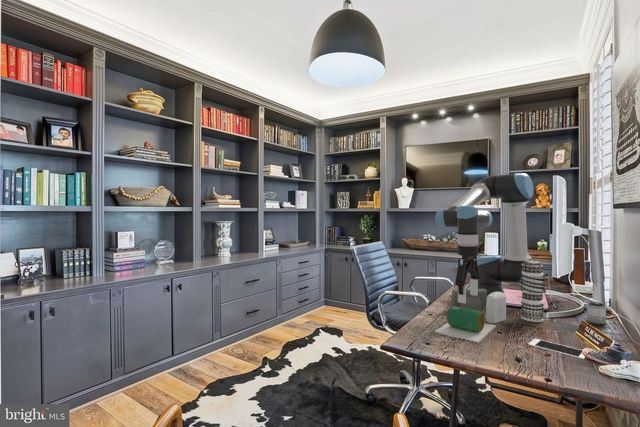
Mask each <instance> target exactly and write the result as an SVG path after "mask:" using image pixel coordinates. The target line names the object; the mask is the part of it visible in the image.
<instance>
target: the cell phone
mask: <svg viewBox="0 0 640 427" xmlns="http://www.w3.org/2000/svg"><path fill="white" fill-rule="evenodd" d="M527 345H528V346H532V347H536V348H539V349H543V350H547V351H550V352H554V353H557V354H561V355H566V356H570V357H573V358H577V359H581V360H585V358H586V357H585V356H584V355H583V354H582V350H583V349H578V348H576V347H572V346H568V345H564V344H560V343H555V342H550V341H547V340H542V339H538V338H533V339H532V340H531V341H530V342H528V343H527Z"/></svg>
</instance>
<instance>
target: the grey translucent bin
mask: <svg viewBox="0 0 640 427" xmlns="http://www.w3.org/2000/svg"><path fill="white" fill-rule="evenodd" d="M486 295H487V290H486V289H478V296H475V295H470V288H466V303H459V302H458V288H455V289H453V290H452V292H451V297H450V298H451V299H450V306H449V308H450V307H453V306H455V307H461V308H466V309H471V310H477V311H480V312H481V313H482V312H483V310H484V308H485V306H486V303H485V300H486Z"/></svg>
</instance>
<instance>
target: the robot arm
mask: <svg viewBox="0 0 640 427" xmlns="http://www.w3.org/2000/svg"><path fill="white" fill-rule="evenodd" d="M533 196H534V184H533V181H532V178H531V176H529V174H527V173H522V172H521V173H517V172H516V173H507V174H506V173H505V174H495V175H494V174H493V175H490V176H487V177H485V178H483V179H480V180H479V181H476V182H475V183H474V184H473V185H472V186H471V187H470V190H468V192H466V194H463V196H461V198H459V199H458V200H457V201H456V202H454V203H453V204H452V205H450V207H449V208H447V209H440V210H437V211H436V212H435V215H434V220H435V224H436V225H437V226H438V227H444V228H457V233H456V234H457V235H456V237H455V238H456V239H457V248H456V249H457V253H456V254H458V256H461V258H459V259H457V260H458V264H457V271H456V276H455V283H454V285H455V286H457V289H458V302H459V303H466V289H467V287H466V285H465V284H466V280H467V276H468V274H469V275H470V279H469V289H470V295H475V296H478V289H486V290H487V295H486V298H487V296H488V295H489V294H491V293H493V292H502V293H504V294H505V295H506V293H505V291H504V288H503V283H506V284H514V285H519V286H521V285H522V284H521V282H520V281H521V279H520V278H521V277H522V276H521V275H520V274H522V264H523V263H524V262H525V261H533V260H532V256H531V255H529V253H528V236H527V235H528V234H527V233H528V230H527V214H526V209H527V208H526V206H527V204H528V203H529V202H530V199H531V198H532V197H533ZM490 199H491V200H492V199H495V200H496V199H500V201H501V204H502V205H503V206H504V209H505V210H504V212H505V231H506V233H505V234H506V248H507V250H506V251H507V254H505V255H504V257H503V256H502V255H497V254H495V255H494V254H493V255H492V254H491V255H481V256H479V257H477V256H478V255H479V246H478V245H479V229H485V228H488V227H490V226H491V224H492V223H493V215H492V213H491V212H490V211H489V210H486V209H479V207H478V206H479V205H480V204H481V203H482V202H486V201H487V200H490ZM485 304H486V300H485Z"/></svg>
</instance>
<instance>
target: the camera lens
mask: <svg viewBox="0 0 640 427" xmlns="http://www.w3.org/2000/svg"><path fill="white" fill-rule="evenodd" d="M586 318H587V321H588V322H589V323H593V324H600V325H604V324H606V320H607V306H606V305H605V304H604V303H601V302H596V301H594V302H593V301H591V302H588V303H587V304H586Z"/></svg>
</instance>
